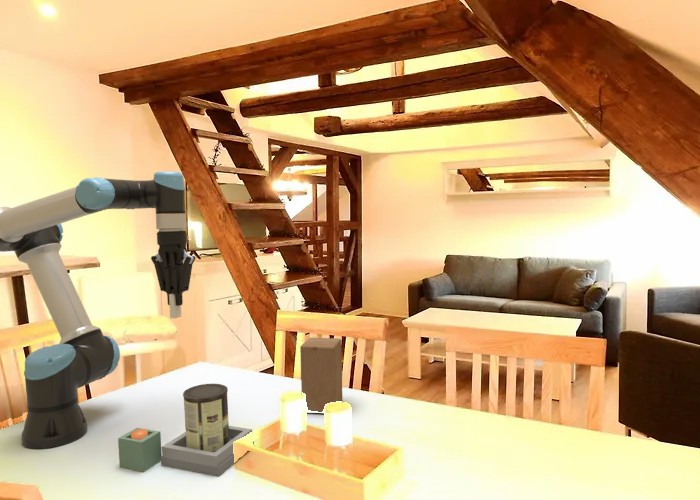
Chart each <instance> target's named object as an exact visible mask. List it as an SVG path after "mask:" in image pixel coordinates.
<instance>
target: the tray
mask: <svg viewBox="0 0 700 500" xmlns="http://www.w3.org/2000/svg"><path fill="white" fill-rule="evenodd" d="M250 432H252V433H253V428H246V427H240V426H234V425H233V426H232V425H229V442H228V443H227V444H225V445H224V446H223V447H221V448H220V449H219V450H217V451H216V452H209V451H203V450H198V449H192V448H187V446H186V431H184V432H183V433H181V434H180V435H178V436H177V437H175V438H173V439H172V440H170V441H169V442H167V443H165V444H164V445H161V453H162V456H161V461H160V465H161V466H165V467H169V466H170V467H171V468H175V469H180V470H185V471H191V472H194V473H195V472H196V473H199V474H200V473H201V474H205V475H211V476H214V477H215V476H216V477H220V476H221V475H222V474H224V473H225V472H226V471H227V470H229V468H231V467H232V466H233V465H234V464H235V463H234V454H233V442H234V441H236V440H238V439H240V438H242V437H244V436H246V435H247V434H249V433H250Z"/></svg>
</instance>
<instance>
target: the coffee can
mask: <svg viewBox="0 0 700 500" xmlns="http://www.w3.org/2000/svg"><path fill="white" fill-rule="evenodd" d="M228 390H229V389H228V387H227V386H226V385H224V384H221V383H205V384H204V383H203V384H199V385H195V386H192V387H189V388H188V389H186V390H184V391H183V393H182V396H183V405H184V406H183V407H184V409H183V410H184V424H185V425H184V426H185V432H186V446H187V448H192V449H198V450H203V451H209V452H216V451H217V450H219V449H220V448H221V447H223V446H224V445H225V444H227V443H228V442H229V426H230V424H229V406H228V405H229V404H228V403H229V402H228V400H229V399H228Z"/></svg>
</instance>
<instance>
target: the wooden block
mask: <svg viewBox="0 0 700 500" xmlns="http://www.w3.org/2000/svg"><path fill="white" fill-rule="evenodd" d="M299 348H300V352H299V353H300V378H301V379H300V380H301V381H300V382H301V386H300V387H301V393H302V392H303V393H305V394H306V402H307V407H308V410H311V411H318V412H322V411H323V409H324V406H325V404H327V403H330V402H336V401H343V367H342V365H343V363H342V362H343V356H342V354H343V353H342V339H341V338H333V337H331V338H330V337H309V338H308V339H306V341H304V342H303V343H302V344H301V345H300V347H299Z"/></svg>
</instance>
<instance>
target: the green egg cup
mask: <svg viewBox="0 0 700 500" xmlns="http://www.w3.org/2000/svg"><path fill="white" fill-rule="evenodd" d="M138 429H143V428H140V427H136V428H134V429H132V430H131V431H129V432H127V433H125V434H123V435H121V436H120V437H118V438H117V442H118V443H117V446H118V459H119V460H118V463H119V468H121V469H126V470H132V471H137V472H140V473H144V472H146V471H148V470H149V469H150V468H153V466H156V464H158V463H161V456H162V436H161V435H162V434H161V431H159V430H154V429H147V428H145V429H146V430H147V431H148V436H146V437H145V438H143V439H141V440H137V439H131V432H133V431H135V430H138Z"/></svg>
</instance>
